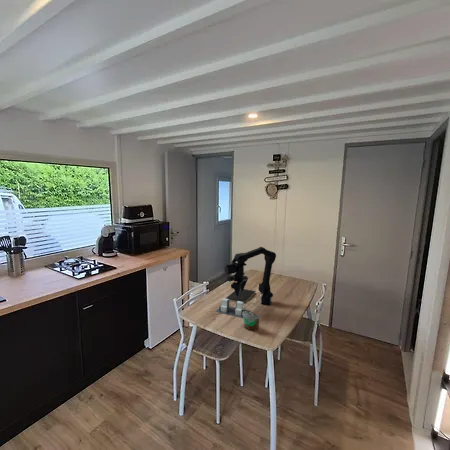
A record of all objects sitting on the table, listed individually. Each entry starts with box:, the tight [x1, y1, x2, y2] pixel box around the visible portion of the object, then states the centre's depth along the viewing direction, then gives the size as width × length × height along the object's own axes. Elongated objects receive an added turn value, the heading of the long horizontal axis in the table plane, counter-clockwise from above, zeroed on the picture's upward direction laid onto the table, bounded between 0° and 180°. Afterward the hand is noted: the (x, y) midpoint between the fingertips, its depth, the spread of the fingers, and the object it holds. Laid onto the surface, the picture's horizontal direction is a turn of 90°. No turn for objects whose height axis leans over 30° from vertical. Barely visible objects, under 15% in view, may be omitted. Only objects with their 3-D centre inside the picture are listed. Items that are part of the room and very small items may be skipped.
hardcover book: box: [225, 288, 256, 304], centre depth 202 cm, size 16×23×2 cm
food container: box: [242, 307, 261, 332], centre depth 155 cm, size 12×6×10 cm, turn 44°
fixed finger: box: [220, 297, 231, 312], centre depth 178 cm, size 5×7×8 cm
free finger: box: [235, 301, 245, 315], centre depth 174 cm, size 5×7×8 cm
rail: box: [214, 304, 252, 319], centre depth 176 cm, size 22×12×3 cm, turn 65°
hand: (239, 293), depth 179 cm, fingers open, 9 cm apart
